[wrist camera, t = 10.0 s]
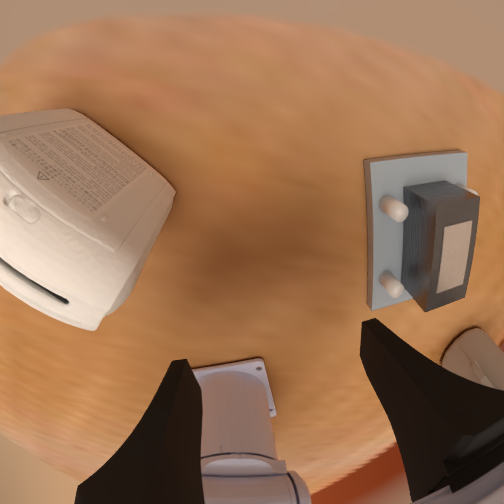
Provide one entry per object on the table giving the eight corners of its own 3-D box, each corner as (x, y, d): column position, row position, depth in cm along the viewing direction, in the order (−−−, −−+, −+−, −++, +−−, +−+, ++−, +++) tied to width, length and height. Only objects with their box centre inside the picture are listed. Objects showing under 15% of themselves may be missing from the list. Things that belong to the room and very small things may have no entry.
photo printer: (39, 151, 16) (-95, 215, 5) (70, 98, 15) (-76, 114, 4) (149, 237, 20) (89, 379, 9) (187, 189, 19) (145, 307, 8)
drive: (438, 271, 23) (465, 297, 19) (400, 283, 23) (425, 313, 19) (445, 180, 19) (480, 197, 15) (403, 186, 19) (437, 205, 15)
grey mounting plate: (449, 278, 24) (467, 295, 22) (367, 303, 24) (381, 325, 22) (459, 149, 19) (484, 158, 16) (363, 159, 19) (384, 168, 16)
